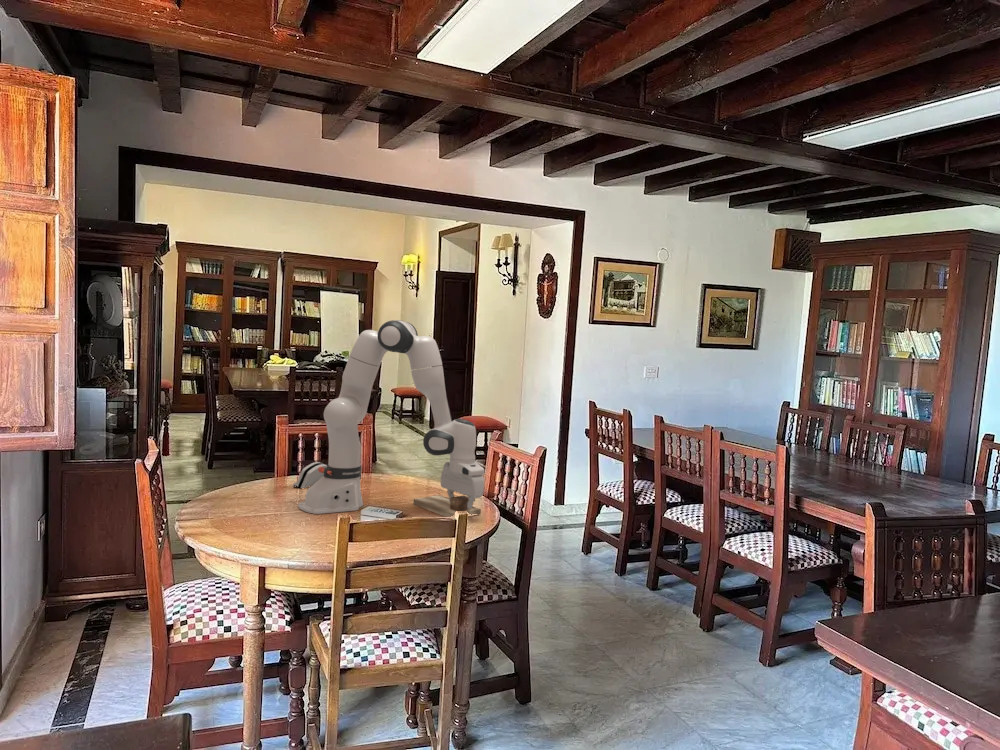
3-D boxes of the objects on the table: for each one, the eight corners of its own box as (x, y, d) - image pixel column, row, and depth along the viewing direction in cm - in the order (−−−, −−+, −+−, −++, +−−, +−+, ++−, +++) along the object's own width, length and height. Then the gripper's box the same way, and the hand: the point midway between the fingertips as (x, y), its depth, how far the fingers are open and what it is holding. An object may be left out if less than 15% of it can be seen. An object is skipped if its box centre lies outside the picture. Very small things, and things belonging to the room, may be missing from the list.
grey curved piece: (313, 479, 280) (322, 457, 278) (323, 484, 279) (331, 462, 277) (291, 487, 264) (300, 464, 262) (301, 493, 262) (310, 469, 261)
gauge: (454, 511, 232) (455, 500, 232) (447, 509, 235) (448, 497, 235) (477, 507, 239) (477, 496, 239) (470, 505, 242) (470, 494, 242)
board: (453, 519, 229) (453, 513, 229) (413, 504, 247) (413, 498, 247) (480, 514, 237) (480, 509, 237) (439, 500, 255) (440, 494, 255)
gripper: (437, 461, 241) (435, 500, 242) (473, 472, 226) (471, 513, 227) (451, 460, 245) (449, 497, 246) (487, 470, 230) (485, 510, 231)
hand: (460, 505), depth 236 cm, fingers open, 8 cm apart
